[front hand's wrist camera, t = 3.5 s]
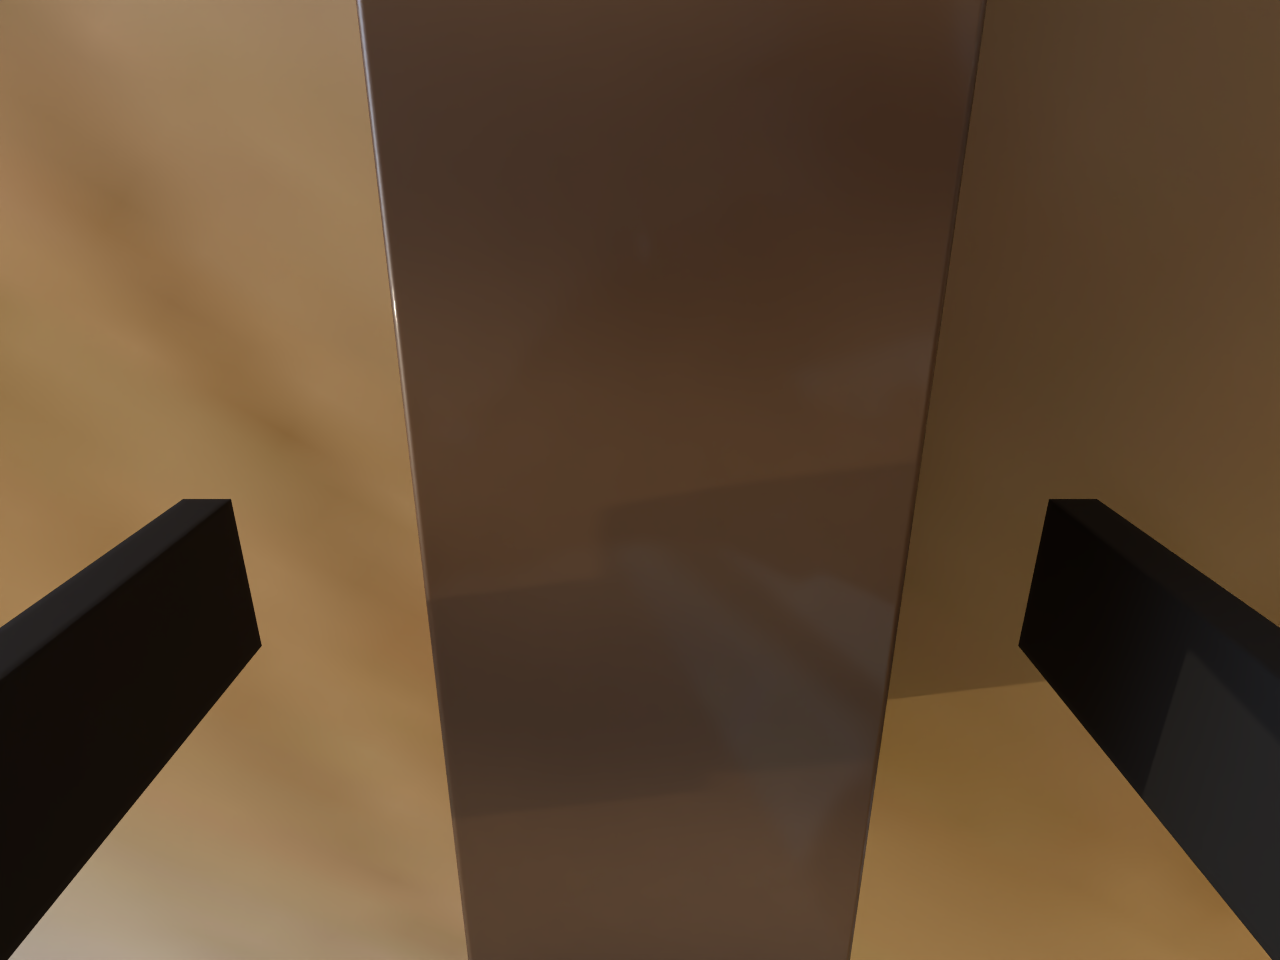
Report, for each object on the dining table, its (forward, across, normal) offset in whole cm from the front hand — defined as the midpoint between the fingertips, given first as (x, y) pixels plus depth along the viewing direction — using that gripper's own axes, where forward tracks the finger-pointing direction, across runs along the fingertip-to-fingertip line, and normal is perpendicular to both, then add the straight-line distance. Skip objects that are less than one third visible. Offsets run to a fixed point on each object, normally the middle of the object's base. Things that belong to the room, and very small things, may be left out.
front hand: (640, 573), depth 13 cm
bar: (+3, 0, -28) cm, 28 cm away
